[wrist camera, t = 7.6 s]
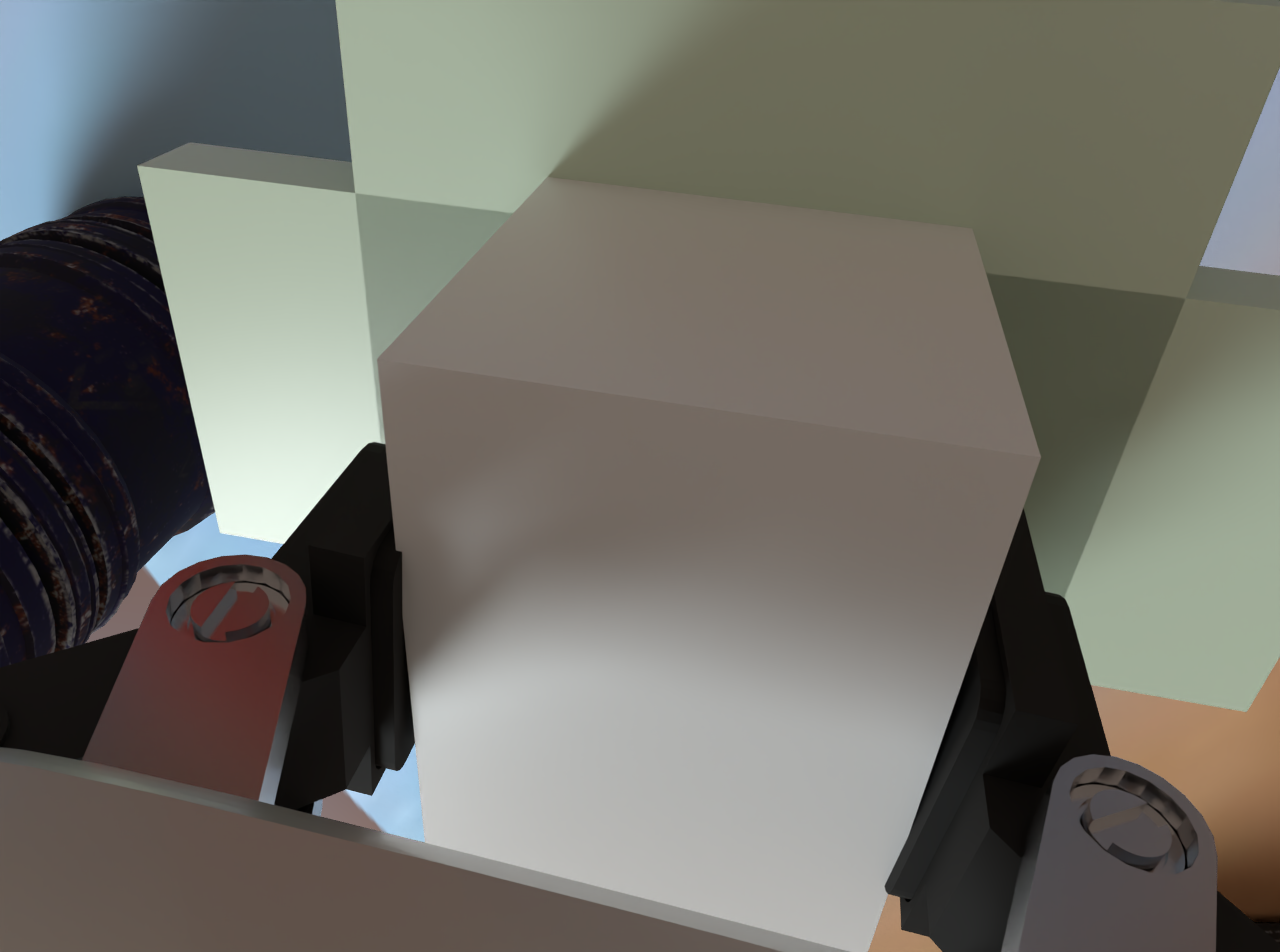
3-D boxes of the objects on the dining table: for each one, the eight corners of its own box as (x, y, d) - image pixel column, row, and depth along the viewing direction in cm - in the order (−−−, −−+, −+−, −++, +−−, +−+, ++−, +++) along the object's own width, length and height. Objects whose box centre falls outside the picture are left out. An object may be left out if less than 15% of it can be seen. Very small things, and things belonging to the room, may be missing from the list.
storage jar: (4, 335, 35) (-466, 603, 22) (97, 125, 30) (-446, 321, 17) (240, 503, 37) (-69, 832, 25) (364, 335, 32) (53, 642, 19)
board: (1568, 20, 10) (2318, 204, 5) (1152, 780, 17) (1281, 1196, 12) (141, -108, 12) (-400, -70, 7) (281, 620, 19) (63, 914, 13)
